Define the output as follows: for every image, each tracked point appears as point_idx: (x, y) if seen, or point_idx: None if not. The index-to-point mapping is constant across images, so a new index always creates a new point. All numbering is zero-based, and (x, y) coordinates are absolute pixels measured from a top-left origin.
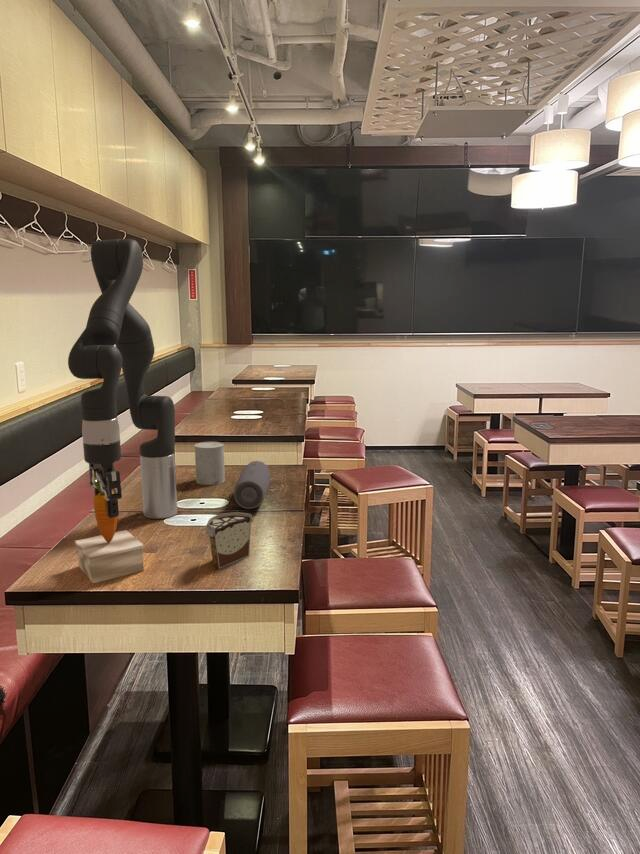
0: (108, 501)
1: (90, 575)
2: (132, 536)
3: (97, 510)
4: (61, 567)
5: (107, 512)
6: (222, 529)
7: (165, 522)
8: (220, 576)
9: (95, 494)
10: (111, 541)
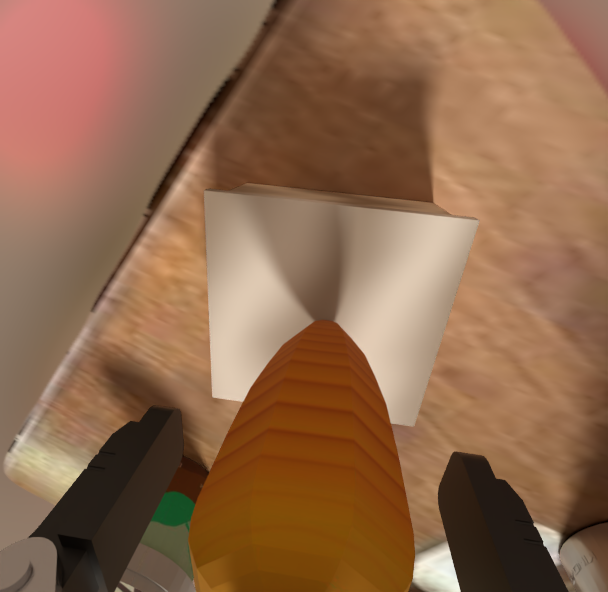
0: (60, 539)
1: (265, 187)
2: None
3: (273, 409)
4: (480, 143)
5: (149, 431)
6: None
7: (535, 525)
8: (111, 433)
9: (505, 573)
10: None
